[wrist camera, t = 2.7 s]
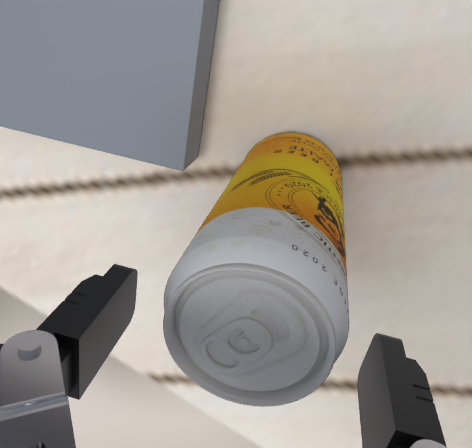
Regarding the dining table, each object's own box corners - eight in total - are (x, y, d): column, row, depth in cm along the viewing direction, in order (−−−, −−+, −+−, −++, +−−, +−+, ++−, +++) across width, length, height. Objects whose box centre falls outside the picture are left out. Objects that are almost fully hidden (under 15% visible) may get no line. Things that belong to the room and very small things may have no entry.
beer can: (362, 185, 25) (394, 368, 12) (285, 239, 28) (240, 438, 14) (297, 107, 24) (252, 214, 11) (223, 171, 26) (113, 320, 13)
